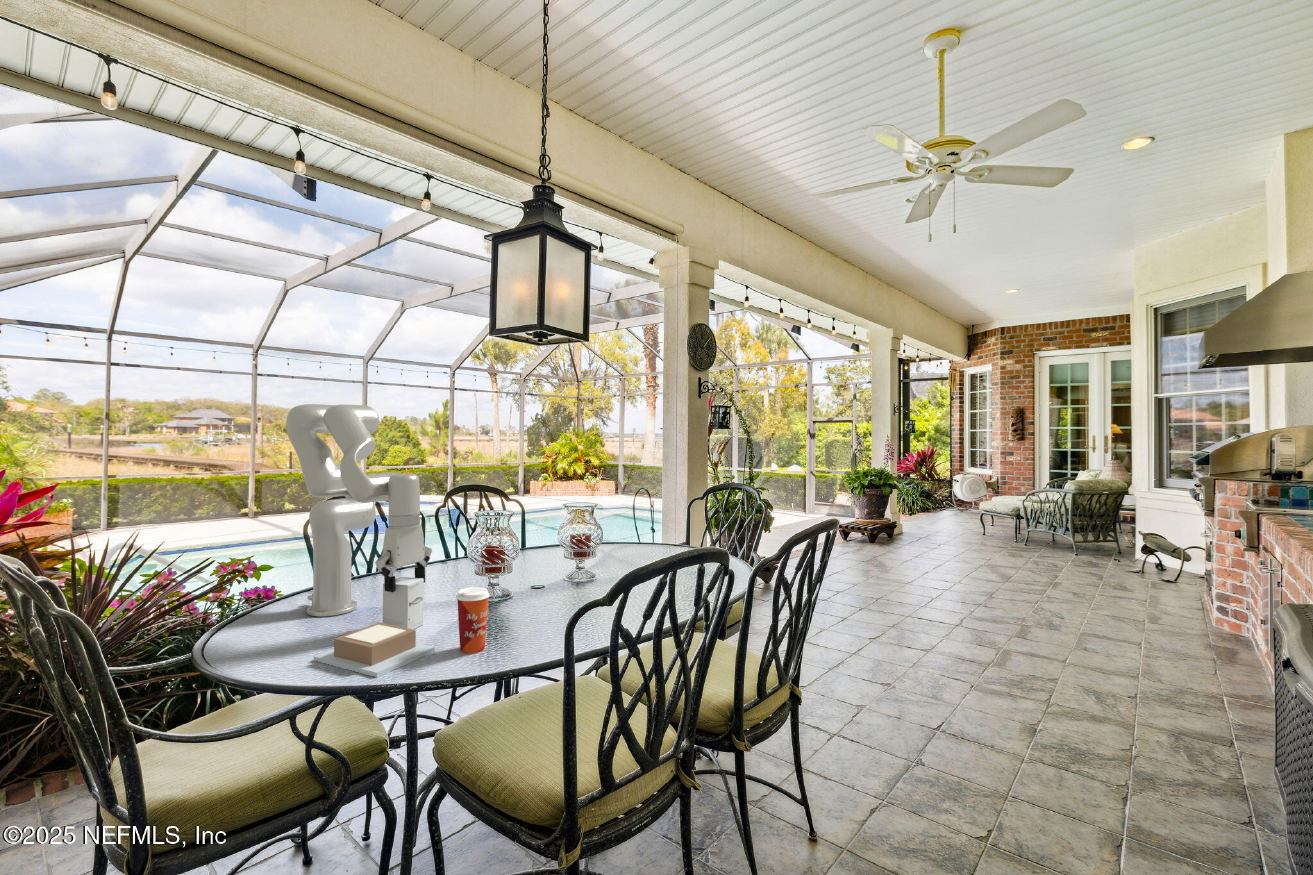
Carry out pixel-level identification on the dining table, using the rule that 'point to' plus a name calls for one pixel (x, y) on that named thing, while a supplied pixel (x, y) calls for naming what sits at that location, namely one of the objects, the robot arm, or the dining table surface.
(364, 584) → the dining table surface
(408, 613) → the supplement box
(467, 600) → the paper cup
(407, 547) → the robot arm
